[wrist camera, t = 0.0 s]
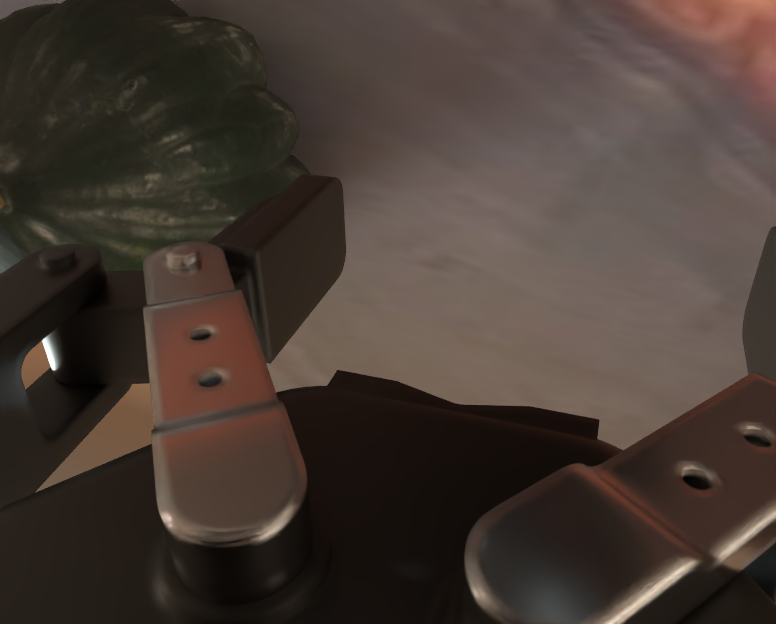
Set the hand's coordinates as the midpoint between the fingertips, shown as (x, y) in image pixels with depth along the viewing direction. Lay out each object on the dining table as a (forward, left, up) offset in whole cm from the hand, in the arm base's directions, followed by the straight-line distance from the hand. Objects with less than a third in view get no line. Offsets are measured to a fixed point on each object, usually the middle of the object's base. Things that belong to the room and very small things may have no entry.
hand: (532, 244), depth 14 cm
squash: (+5, -18, -17) cm, 26 cm away
